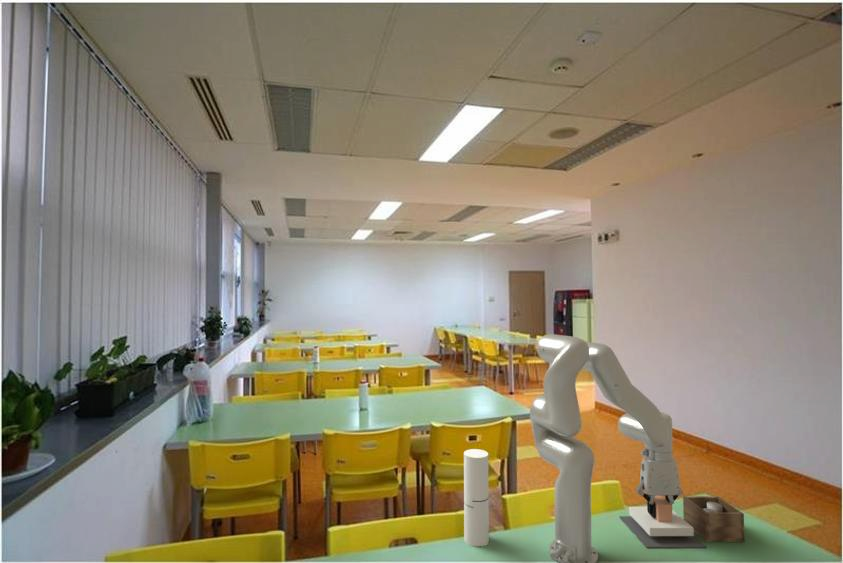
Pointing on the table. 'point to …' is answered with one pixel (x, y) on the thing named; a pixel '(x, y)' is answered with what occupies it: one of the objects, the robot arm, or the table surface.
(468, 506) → the cylindrical container
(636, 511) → the lid
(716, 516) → the box
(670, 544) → the mat
